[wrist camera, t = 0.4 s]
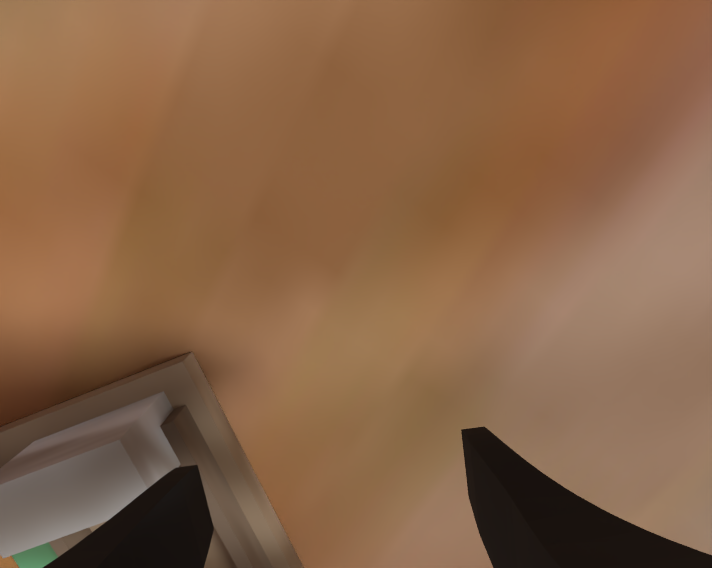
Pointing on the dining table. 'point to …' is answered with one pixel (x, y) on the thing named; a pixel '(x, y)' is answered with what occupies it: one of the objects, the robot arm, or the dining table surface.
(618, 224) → the dining table surface
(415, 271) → the dining table surface
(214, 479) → the gauge board
